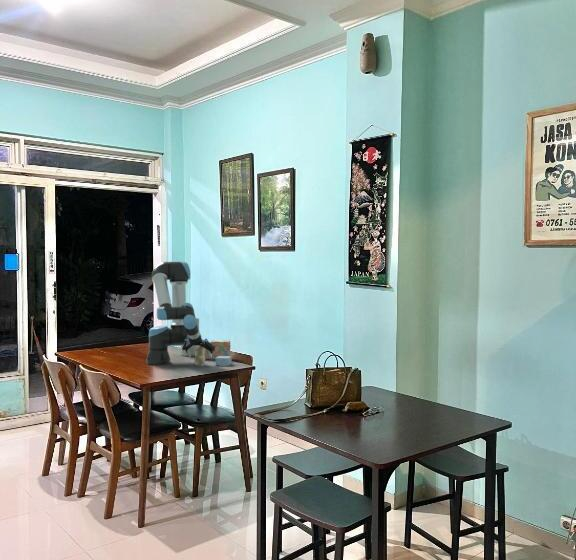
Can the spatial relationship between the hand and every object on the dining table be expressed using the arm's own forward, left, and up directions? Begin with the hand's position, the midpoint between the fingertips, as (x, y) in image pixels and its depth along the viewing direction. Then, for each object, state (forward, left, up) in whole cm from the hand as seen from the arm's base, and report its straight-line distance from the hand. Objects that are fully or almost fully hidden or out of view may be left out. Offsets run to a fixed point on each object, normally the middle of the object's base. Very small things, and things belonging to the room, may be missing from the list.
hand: (200, 355), depth 364 cm
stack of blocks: (+3, +21, -6) cm, 22 cm away
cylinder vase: (-17, +34, -6) cm, 39 cm away
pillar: (0, -2, -6) cm, 6 cm away
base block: (+14, +2, -6) cm, 16 cm away
